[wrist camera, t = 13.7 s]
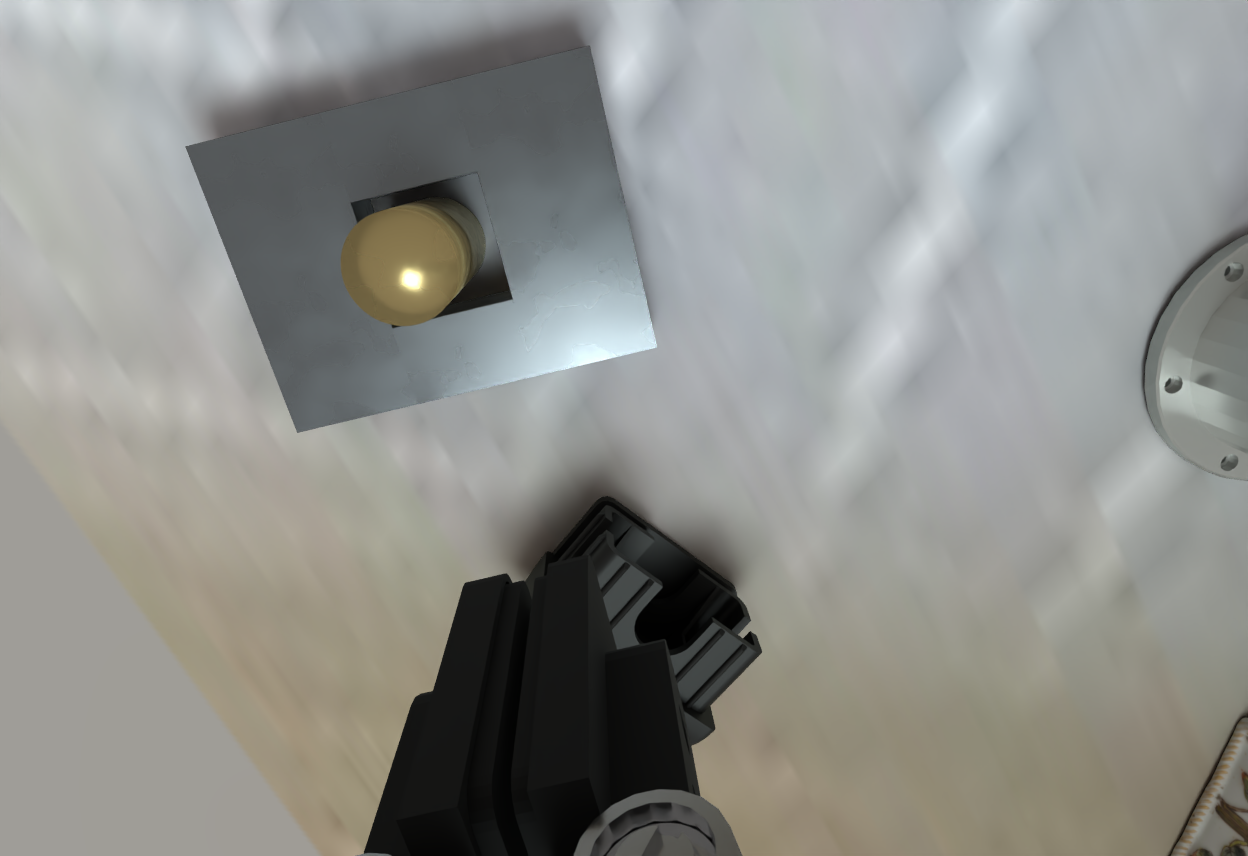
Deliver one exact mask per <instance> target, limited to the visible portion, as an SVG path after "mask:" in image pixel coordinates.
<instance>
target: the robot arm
mask: <svg viewBox="0 0 1248 856" xmlns="http://www.w3.org/2000/svg"><path fill="white" fill-rule="evenodd" d="M1144 390H1145V395H1146V401H1147V407H1148V412H1149V414H1150V417H1151V419H1152V421H1153V424H1154V426H1155V428H1156V431H1157V432H1158V433H1159V435H1160V436H1161V437H1162V439H1163V440H1164V442H1165V443H1166V444H1167V446H1168V447H1169V448H1170V449H1172V450H1173V451H1174V452H1175V453H1176V454H1178V455H1179V456H1180V457H1181V458H1183V459H1184V460H1186V461H1188V462H1190V463H1191V464H1193V465H1195V466H1197V467H1199V468H1201V469H1203V470H1204V471H1207V472H1209V473H1212V474H1215V475H1217V476H1220V477H1223V478H1229V479H1237V480H1244V481H1248V234H1246V235H1244V236H1242V237H1240V238H1238V239H1237V240H1235V241H1233V242H1232V243H1230V244H1229V245H1227V246H1226V247H1224V248H1222V249H1221V250H1219V251H1218V252H1216V253H1215V254H1214V255H1213V256H1212V257H1210V258H1209V259H1208V260H1207V261H1206V262H1205V263H1203V264H1202V265H1201V266H1200V267H1199V268H1198V269H1197V270H1195V271H1194V272H1193V274H1192V275H1191V276H1190V277H1189V278H1188V279H1187V281H1186V282H1185V283H1184V284H1183V285H1182V286H1181V288H1180V289H1179V290H1178V291H1177V292H1176V294H1175V295H1174V297H1173V298H1172V300H1171V302H1170V303H1169V305H1168V306H1167V308H1166V310H1165V311H1164V313H1163V315H1162V316H1161V318H1160V321H1159V323H1158V325H1157V328H1156V330H1155V333H1154V335H1153V337H1152V340H1151V343H1150V347H1149V352H1148V356H1147V361H1146V365H1145V388H1144ZM357 856H742V854H741V851H740V849H739V846H738V844H737V842H736V839H735V837H734V835H733V832H732V830H731V827H730V826H729V824H728V823H727V821H726V820H725V818H724V817H723V815H722V813H721V812H720V810H719V809H718V808H716V807H715V806H713V805H712V804H711V803H709V802H708V801H707V800H705V799H704V798H703V797H700V791H699V786H698V780H697V775H696V769H695V764H694V758H693V753H692V748H691V743H690V738H689V733H688V728H687V724H686V719H685V715H684V710H683V706H682V702H681V697H680V693H679V689H678V685H677V681H676V677H675V673H674V669H673V665H672V661H671V657H670V653H669V650H668V646H667V643H666V640H665V639H662V640H657V641H653V642H648V643H644V644H640V645H635V646H631V647H626V648H622V649H617V647H616V644H615V640H614V636H613V633H612V629H611V625H610V622H609V618H608V615H607V611H606V607H605V604H604V600H603V596H602V593H601V589H600V586H599V582H598V578H597V575H596V571H595V568H594V564H593V561H592V559H591V556H590V555H584V556H580V557H576V558H571V559H567V560H562V561H558V562H554V563H549V564H548V571H547V575H545V576H541V577H537V578H535V580H534V588H533V596H532V598H531V595H530V592H529V589H528V586H527V584H526V582H525V581H519V582H515V583H512V581H511V579H510V577H509V575H508V574H507V573H506V574H502V575H497V576H493V577H488V578H484V579H480V580H475V581H471V582H467V583H465V584H464V586H463V589H462V592H461V596H460V599H459V603H458V606H457V610H456V613H455V617H454V620H453V623H452V627H451V630H450V634H449V637H448V641H447V644H446V648H445V651H444V655H443V658H442V662H441V665H440V669H439V672H438V676H437V679H436V683H435V686H434V689H433V691H431V692H427V693H423V694H420V695H418V696H416V697H415V699H414V701H413V703H412V705H411V707H410V710H409V713H408V717H407V720H406V723H405V726H404V729H403V732H402V735H401V738H400V742H399V745H398V748H397V751H396V754H395V757H394V760H393V763H392V766H391V770H390V773H389V776H388V779H387V782H386V785H385V788H384V791H383V795H382V798H381V801H380V804H379V807H378V810H377V813H376V816H375V820H374V823H373V826H372V829H371V832H370V835H369V838H368V841H367V844H366V848H365V851H364V854H361V855H357Z"/></svg>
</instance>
